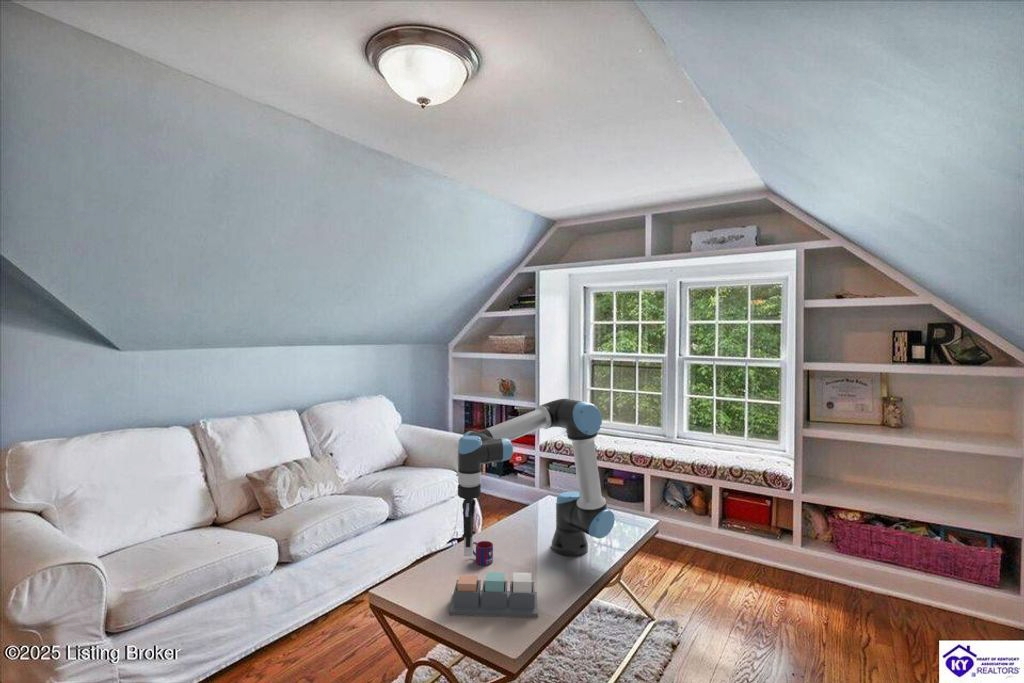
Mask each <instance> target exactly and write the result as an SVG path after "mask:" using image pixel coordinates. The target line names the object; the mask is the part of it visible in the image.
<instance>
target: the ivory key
mask: <svg viewBox="0 0 1024 683" xmlns="http://www.w3.org/2000/svg"><path fill="white" fill-rule="evenodd" d="M512 575H513V576H512V579H513V580H512V581H513V593H532V582H533V580H532V579H533V578H532V572H514V571H513V573H512Z"/></svg>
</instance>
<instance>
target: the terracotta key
mask: <svg viewBox="0 0 1024 683" xmlns="http://www.w3.org/2000/svg"><path fill="white" fill-rule="evenodd" d="M478 578H479V576H478V574H459V577H458V579H457V580H458V583H457V591H468V592H477V585H478V580H479V579H478Z"/></svg>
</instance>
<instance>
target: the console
mask: <svg viewBox="0 0 1024 683" xmlns="http://www.w3.org/2000/svg"><path fill="white" fill-rule="evenodd" d="M458 580H459V579H457V580H456V583H455V586H454V589H453V596H452V599H451V604H450V608H449V612H448V613H449V614H448V615H449V616H466V617H468V616H469V617H471V616H472V617H497V618H498V617H500V618H501V617H502V618H503V617H507V618H535V619H538V618H539V610H538V595H537V594H538V592H537V591H536V590H535V581H532V593H513V580H510V582H509V583H510V584H509V590H508V580H504V592H485V579H484V580H483V581H482V580H480V579H478V585H477V592H468V591H457V583H458ZM481 586H482V589H481Z"/></svg>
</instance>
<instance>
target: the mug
mask: <svg viewBox="0 0 1024 683" xmlns="http://www.w3.org/2000/svg"><path fill="white" fill-rule="evenodd" d="M473 545H475V550H474V549H473V555H474V557H475V564H476V565H477V566H481V567H484V566H486V567H487V566H490V565H492V564H493V562H494V558H493V557H494V543H493V542H491V541H488V540H481V541H478V542H477V541H476V542H475V541H473Z"/></svg>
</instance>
